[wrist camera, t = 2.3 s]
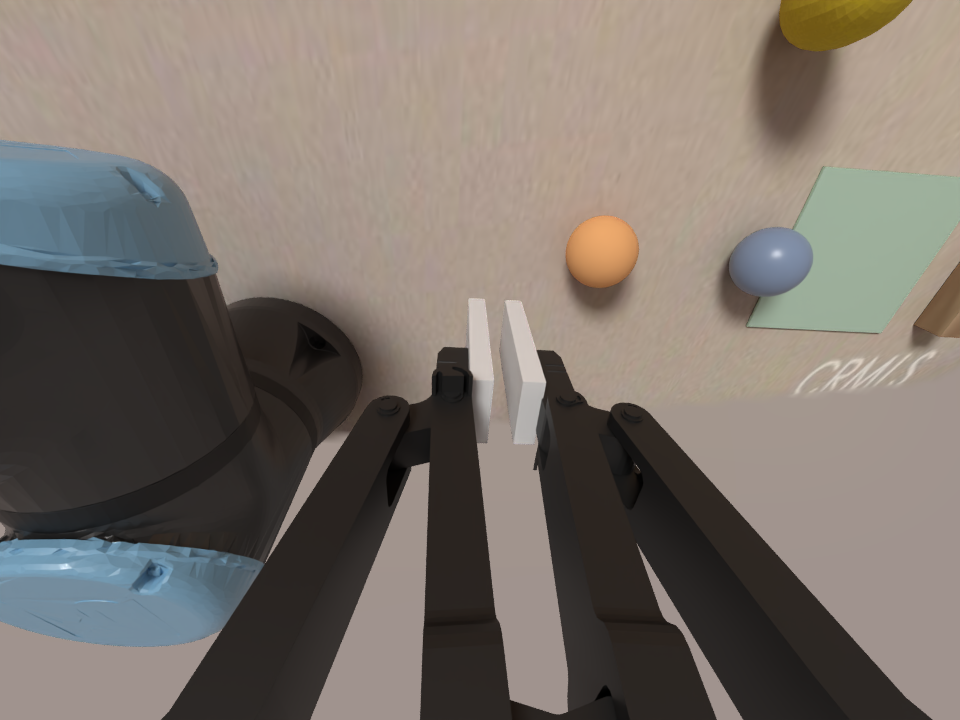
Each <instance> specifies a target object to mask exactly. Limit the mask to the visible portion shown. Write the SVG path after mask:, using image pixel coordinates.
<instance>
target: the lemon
mask: <svg viewBox="0 0 960 720" xmlns="http://www.w3.org/2000/svg"><path fill="white" fill-rule="evenodd" d="M911 2H912V0H781V5H780V11H779V20H780V27H781V30H782V33H783V35H784V36H785V38H786V39H787V40H788V41H789V42H790V43H791V44H793V45H794V46H796V47H798V48H800V49H803V50H810V51H826V50H831V49H837V48H841V47H844V46H847V45H849V44H852V43H854V42H856V41H859V40H861V39H863V38H865V37H867V36H869V35H871V34H873V33H875V32H876V31H878V30H879V29H881V28H882V27H884V26H885V25H886V24H888V23H889V22H891V21H892V20H893V19H895V18H896V17H897V16H898V15H899V14H900V13H901V12H902V11H903V10H904V9H905V8H906V7H907V6H908V5H909V4H910V3H911Z"/></svg>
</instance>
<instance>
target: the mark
mask: <svg viewBox="0 0 960 720" xmlns="http://www.w3.org/2000/svg"><path fill="white" fill-rule="evenodd" d="M959 221H960V177H951V176H938V175H926V174H913V173H900V172H887V171H875V170H862V169H849V168H836V167H824V166H823V168H822V170H821V172H820V174H819V176H818V178H817V180H816V182H815V184H814V186H813V188H812V191H811V193H810V195H809V197H808V199H807V201H806V203H805V205H804V207H803V209H802V211H801V213H800V215H799V217H798V219H797V222H796V224H795V226H794V228H793V230H795V231H797V232H799V233H800V234H802V235H803V236H804V237H805V238H806V239H807V240H808V242H809V243H810V245H811V247H812V250H813V264H812V267H811V270H810V272H809V273H808V275H807V276H806V278H805V279H804V280H803V281H802V282H801V283H800V284H799V285H798V286H796V287H795V288H793V289H792V290H790V291H788V292H786V293H783V294H780V295H776V296H771V297H760V298H759V300H758V302H757V304H756V306H755V308H754V310H753V312H752V315H751V317H750V319H749V321H748V323H747V325H746V326H747V327H765V328H786V329H806V330H827V331H847V332H868V333H882V331H883V330H884V328H885V327H886V326H887V324H888V323H889V321H890V320H891V318H892V317H893V316H894V314H895V313H896V311H897V310H898V308H899V307H900V306H901V304H902V303H903V301H904V300H905V298H906V297H907V296H908V294H909V293H910V291H911V290H912V288H913V287H914V286H915V284H916V283H917V281H918V280H919V278H920V277H921V275H922V274H923V273H924V271H925V270H926V268H927V267H928V265H929V264H930V263H931V261H932V260H933V258H934V257H935V255H936V254H937V253H938V251H939V250H940V248H941V247H942V245H943V244H944V243H945V241H946V240H947V238H948V237H949V235H950V234H951V233H952V231H953V230H954V228H955V227H956V225H957V224H958V222H959Z"/></svg>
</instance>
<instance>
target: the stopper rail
mask: <svg viewBox="0 0 960 720" xmlns="http://www.w3.org/2000/svg"><path fill="white" fill-rule="evenodd" d="M914 325H916V326H918V327H920V328H922V329H924V330H926V331H928V332H931V333H933V334H935V335H937V336H939V337H954V338H960V263H959V264H958V265H957V267H956V268H955V269H954V271H953V272H952V274H951V275H950V276H949V278H948V279H947V280H946V282H945V283H944V284H943V286H942V287H941V288H940V290H939V291H938V293H937V294H936V295H935V297H934V298H933V299H932V301H931V302H930V303H929V305H928V306H927V307H926V309H925V310H924V311H923V313H922V314H921V316H920V317H919V318H918V320H917V321H916V322H915V324H914Z"/></svg>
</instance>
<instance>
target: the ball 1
mask: <svg viewBox="0 0 960 720" xmlns="http://www.w3.org/2000/svg"><path fill="white" fill-rule="evenodd" d="M638 252H639V245H638V240H637V237H636V234H635V233H634V231H633V229H632V228H631V227H630V226H629V225H628V224H627V223H626V222H625V221H623V220H621V219H619V218H617V217H613V216H597V217H593V218H591V219H588V220H587V221H585V222H583V223H582V224H580V225H579V226H578V227H577V228H576V229H575V230H574V232H573V233H572V235H571V237H570V238H569V241H568V243H567V247H566V262H567V266H568V268H569V270H570V272H571V274H572V275H573V276H574V277H575V278H576V279H577V280H578V281H579V282H581V283H582V284H584V285H587V286H590V287H595V288H604V287H609V286H612V285H615V284H617V283H619V282H620V281H622V280H623V279H624V278H626V277H627V276H628V275H629V273H630V272H631V271H632V269H633V268H634V266H635V264H636V261H637V258H638Z"/></svg>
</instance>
